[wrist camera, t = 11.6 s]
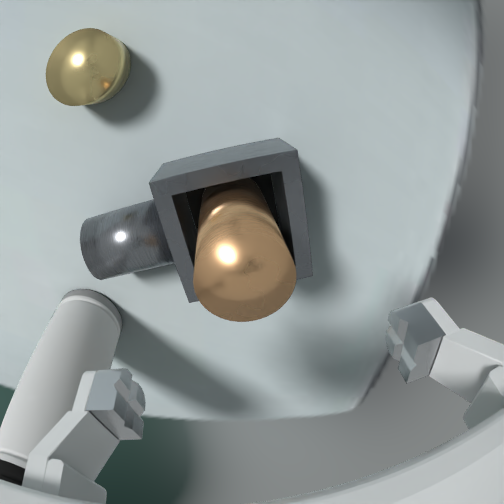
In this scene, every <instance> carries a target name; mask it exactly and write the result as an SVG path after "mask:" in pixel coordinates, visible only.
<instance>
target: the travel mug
mask: <svg viewBox="0 0 504 504" xmlns="http://www.w3.org/2000/svg"><path fill="white" fill-rule="evenodd" d="M121 329H122V319H121V316H120V314H119V312H118V310H117V308H116V307H115V306H114V304H113V303H112V302H111V301H110V300H109V299H107V298H106V297H105V296H103V295H101V294H99V293H97V292H95V291H92V290H87V289H77V290H72V291H70V292H68V293H67V294H66V295H65V296H64V297H63V298H62V300H61V302H60V303H59V305H58V307H57V309H56V310H55V312H54V314H53V316H52V317H51V319H50V321H49V323H48V325H47V327H46V328H45V330H44V332H43V334H42V336H41V338H40V340H39V342H38V344H37V346H36V348H35V350H34V352H33V354H32V356H31V358H30V360H29V362H28V364H27V366H26V368H25V370H24V372H23V375H22V377H21V379H20V381H19V383H18V386H17V388H16V390H15V393H14V395H13V397H12V400H11V402H10V405H9V407H8V409H7V412H6V415H5V417H4V420H3V423H2V425H1V428H0V479H1V480H4V481H7V482H10V483H13V484H16V485H19V486H22V483H23V478H24V473H25V469H26V465H27V461H28V457H29V453H30V452H31V451H32V450H33V449H34V448H35V447H36V446H37V445H38V444H39V442H40V441H41V440H42V439H43V438H44V437H45V436H46V435H47V434H48V433H49V432H50V430H51V429H52V428H53V427H54V426H55V425H56V424H57V423H58V422H59V421H60V420H61V419H62V418H63V416H64V415H65V414H66V413H67V412H68V411H72V409H73V405H74V402H75V398H76V395H77V391H78V388H79V385H80V381H81V378H82V375H83V374H84V373H85V372H86V371H96V370H109V369H110V368H111V364H112V361H113V357H114V353H115V350H116V346H117V343H118V340H119V336H120V333H121Z"/></svg>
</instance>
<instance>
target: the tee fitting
mask: <svg viewBox="0 0 504 504" xmlns="http://www.w3.org/2000/svg"><path fill="white" fill-rule="evenodd" d="M268 173H270V174H271V180H272V186H273V191H274V197H275V203H276V209H277V215H278V221H279V227H280V233H281V235H282V237H283V239H284V241H285V244H286V246H287V248H288V250H289V252H290V255H291V257H292V259H293V261H294V264H295V268H296V280H297V279H301V278H306V277H310V276H313V272H312V262H311V252H310V243H309V234H308V225H307V217H306V209H305V201H304V193H303V186H302V179H301V172H300V165H299V158H298V151H297V149H296V148H294V147H292V146H291V145H289V144H288V143H286V142H285V141H283V140H282V139H280V138H275V139H269V140H264V141H258V142H253V143H248V144H243V145H238V146H234V147H229V148H224V149H220V150H216V151H211V152H207V153H203V154H198V155H194V156H190V157H186V158H182V159H179V160H175V161H171V162H167V163H164V164H163V165H162V166H161V167H160V168H159V170H158V171H157V172H156V174H155V175H154V177H153V178H152V179H151V181H150V182H149V185H150V188H151V192H152V195H153V198H154V200H150V201H146V202H143V203H139V204H135V205H132V206H128V207H125V208H121V209H118V210H114V211H111V212H108V213H104V214H101V215H98V216H95V217H91V218H88V219H86V220H85V221H84V223H83V225H82V227H81V233H80V244H81V250H82V255H83V258H84V261H85V263H86V265H87V267H88V269H89V271H90V272H91V274H92V275H93V276H94V277H96V278H97V279H100V280H103V279H107V278H112V277H116V276H120V275H125V274H129V273H134V272H138V271H143V270H147V269H151V268H156V267H160V266H165V265H169V264H174V263H175V265H176V268H177V271H178V274H179V276H180V279H181V282H182V285H183V287H184V290H185V293H186V295H187V298H188V301H189V303H191V302H196V301H199V299H198V298H197V296H196V293H195V290H194V285H193V276H194V265H195V254H196V244H197V231H196V227H195V224H194V220H193V217H192V213H191V209H190V206H189V202H188V199H187V195H186V192H187V191H192V190H196V189H200V188H204V187H208V186H213V185H217V184H221V183H226V182H230V181H235V180H239V179H244V178H249V177H254V176H258V175H263V174H268Z"/></svg>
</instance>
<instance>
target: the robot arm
mask: <svg viewBox="0 0 504 504" xmlns="http://www.w3.org/2000/svg"><path fill="white" fill-rule="evenodd" d="M388 321H389V323H390V325H391V326H390V327H389V328H388V329H387V331H386V344H387V348H388V351H389V353H390V355H391V357H392V358H393V359H395V360H397V361H399V366H398V369H399V371H400V373H401V375H402V376H403V378H404V380H405V382H406V383H410V382H412V381H415V380H417V379H420V378H423V377H426V376H428V375H429V376H430V377H431V378H433V379H434V380H436V381H437V382H439V383H440V384H442V385H444V386H445V387H447V388H448V389H450V390H451V391H453V392H454V393H456V394H458V395H459V396H461V397H463V398H464V399H466V400H467V401H469V402H470V403H471V404H470V406H469V407H468V409H467V410H466V412H465V413H464V416H463V420H464V421H465V423H466V425H467V427H468V429H469V430H467V431H465V432H464V433H462V434H460V435H458V436H457V437H455V438H453V439H451V440H449V441H447V442H445V443H443V444H441V445H439V446H437V447H435V448H433V449H431V450H429V451H427V452H425V453H423V454H421V455H419V456H416V457H414V458H412V459H410V460H407V461H405V462H402V463H400V464H398V465H395V466H393V467H390V468H387V469H385V470H382V471H380V472H377V473H374V474H371V475H368V476H366V477H363V478H359V479H356V480H353V481H350V482H347V483H343V484H340V485H337V486H333V487H330V488H326V489H322V490H318V491H314V492H310V493H306V494H301V495H296V496H291V497H286V498H281V499H275V500H270V501H263V502H257V503H249V504H504V344H501V343H499V342H497V341H494V340H492V339H489V338H487V337H485V336H482V335H480V334H477V333H475V332H472V331H470V330H468V329H465V328H461V329H459V327H458V326H457V325H456V324H455V322H453V320H452V319H451V317H450V316H449V315H448V314H447V313H446V312H445V310H444V309H443V308H442V307H441V305H440V304H439V303H438V302H437V301H436V300H435V299H434V298H432V297H430V298H428V299H425V300H422V301H419V302H416V303H413V304H410V305H407V306H404V307H401V308H398V309H395V310H392V311H391V312H390V313H389V317H388ZM144 411H145V396H144V392H143V390H142V388H141V386H140V385H139V384H138V383H136V382H135V381H133V380H132V374H131V373H130V371H129V370H128V369H126V368H122V369H109V370H96V371H86V372H85V373H84V374H83V375H82V378H81V381H80V385H79V388H78V391H77V395H76V398H75V402H74V405H73V409H72V411H68V412H67V413H66V414H65V415H64V416H63V418H62V419H61V420H60V421H59V422H58V423H57V424H56V425H55V426H54V427H53V428H52V429H51V430H50V432H49V433H48V434H47V435H46V436H45V437H44V438H43V439H42V440H41V441H40V442H39V444H38V445H37V446H36V447H35V448H34V449H33V450H32V451H31V452H30V453H29V457H28V461H27V465H26V469H25V473H24V478H23V483H22V486H19V485H16V484H13V483H10V482H7V481H4V480H1V479H0V504H106V493H107V491H106V490H105V489H104V488H103V487H101V486H99V485H98V484H96V483H95V482H94V480H95V478H96V477H97V475H98V474H99V472H100V471H101V469H102V468H103V466H104V465H105V463H106V461H107V460H108V458H109V457H110V455H111V454H112V452H113V450H114V449H115V448H116V446H117V444H118V443H119V440H133V439H142V431H143V423H144V422H143V420H142V419H141V417H140V416H141V414H142V413H143V412H144Z"/></svg>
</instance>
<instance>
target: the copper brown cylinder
mask: <svg viewBox="0 0 504 504" xmlns="http://www.w3.org/2000/svg"><path fill="white" fill-rule="evenodd" d="M295 284H296V268H295V264H294V261H293V259H292V257H291V255H290V252H289V250H288V248H287V246H286V244H285V241H284V239H283V237H282V235H281V233H280V230H279V228H278V226H277V224H276V222H275V220H274V217H273V215H272V213H271V211H270V209H269V207H268V205H267V202H266V200H265V198H264V196H263V194H262V192H261V190H260V188H259V186H258V185H257V184H256V183H255V182H254V181H253V180H252V179H251V178H244V179H239V180H235V181H230V182H226V183H221V184H217V185H213V186H208V187H206V188H205V190H204V192H203V195H202V199H201V207H200V216H199V225H198V234H197V244H196V254H195V265H194V276H193V285H194V290H195V293H196V296H197V298H198V299H199V301H200V303H201V304H202V305H203V306H204V307H205V308H206V309H207V310H208V311H209V312H211V313H212V314H214V315H216V316H218V317H220V318H223V319H226V320H230V321H237V322H246V321H254V320H258V319H261V318H264V317H267V316H269V315H271V314H272V313H274V312H276V311H277V310H278V309H280V308H281V307H282V306H283V305H284V304H285V303H286V302H287V300H288V299H289V298H290V296H291V294H292V292H293V290H294V288H295Z"/></svg>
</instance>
